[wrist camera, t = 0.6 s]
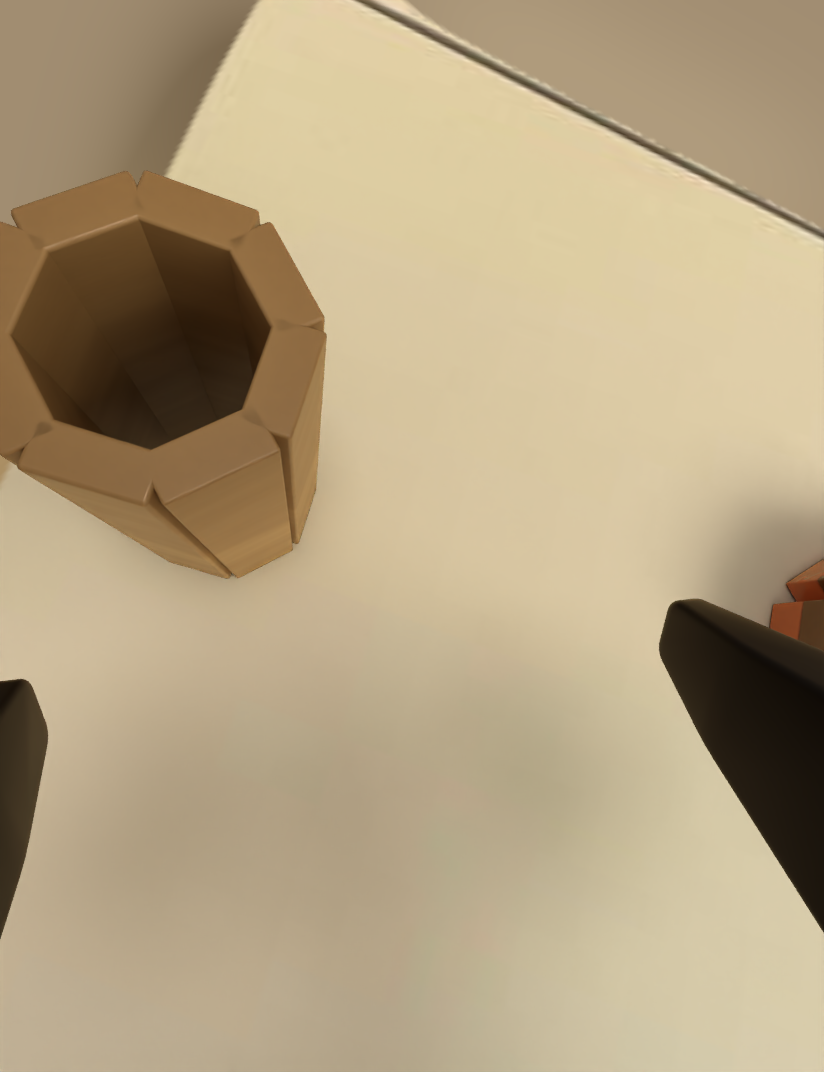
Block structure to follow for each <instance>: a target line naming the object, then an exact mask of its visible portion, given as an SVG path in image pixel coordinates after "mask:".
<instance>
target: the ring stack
mask: <svg viewBox="0 0 824 1072" xmlns="http://www.w3.org/2000/svg"><path fill="white" fill-rule="evenodd" d="M786 585H787V587H788V588H789V590H790V592H791V593H792V595H793V597H794V598H795V600H796V602H791V603H779V604H774V605H773V610H772V616H771V623H770V628H771V629H773V630H775V631H778V632H780V633H782V634H785V635H787V636H790V637H792V638H794V639H797V640H799V641H801V642H804V643H806V644H809V645H811V646H813V647H816V648H818V649H820V650H823V651H824V559H823V560H821V561H820V562H818V563H817V564H815V565H814V566H812V567H811V568H809V569H807V570H806V571H804V572H803V573H801V574H800V575H798V576H797V577H795V578H794V579H792V580H791V581H789V582H788V583H787V584H786Z"/></svg>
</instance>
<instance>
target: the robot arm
mask: <svg viewBox="0 0 824 1072" xmlns="http://www.w3.org/2000/svg"><path fill="white" fill-rule="evenodd" d="M659 651H660V656H661V659H662V661H663V663H664V665H665V667H666V669H667V671H668V673H669V675H670V677H671V679H672V681H673V683H674V685H675V687H676V689H677V691H678V693H679V695H680V697H681V699H682V701H683V703H684V705H685V707H686V709H687V711H688V713H689V715H690V717H691V719H692V721H693V723H694V725H695V727H696V729H697V731H698V733H699V735H700V737H701V738H702V740H703V742H704V744H705V746H706V747H707V749H708V751H709V752H710V754H711V756H712V757H713V759H714V761H715V762H716V764H717V765H718V767H719V769H720V770H721V772H722V773H723V775H724V776H725V778H726V780H727V781H728V783H729V784H730V786H731V787H732V789H733V791H734V792H735V794H736V795H737V797H738V798H739V800H740V802H741V803H742V805H743V806H744V808H745V809H746V811H747V813H748V814H749V816H750V817H751V819H752V821H753V822H754V824H755V825H756V827H757V828H758V830H759V832H760V833H761V835H762V836H763V838H764V839H765V841H766V843H767V844H768V846H769V847H770V849H771V850H772V852H773V854H774V855H775V857H776V858H777V860H778V861H779V863H780V865H781V866H782V868H783V869H784V871H785V873H786V874H787V876H788V877H789V879H790V880H791V882H792V884H793V885H794V887H795V888H796V890H797V891H798V893H799V895H800V896H801V898H802V899H803V901H804V902H805V904H806V906H807V907H808V909H809V910H810V912H811V913H812V915H813V917H814V918H815V920H816V921H817V923H818V924H819V926H820V928H821V929H822V931H823V932H824V651H823V650H820V649H818V648H816V647H813V646H811V645H809V644H806V643H804V642H801V641H799V640H797V639H794V638H792V637H790V636H787V635H785V634H782V633H780V632H778V631H775V630H773V629H771V628H768V627H766V626H763V625H761V624H759V623H756V622H754V621H752V620H749V619H747V618H744V617H742V616H740V615H737V614H735V613H733V612H730V611H728V610H726V609H723V608H721V607H718V606H716V605H714V604H711V603H709V602H707V601H704V600H702V599H687V600H678V601H675V602H673V603H672V604H671V605H670V606H669V608H668V611H667V615H666V619H665V623H664V627H663V631H662V634H661V638H660V643H659ZM47 744H48V730H47V725H46V722H45V719H44V717H43V714H42V711H41V709H40V706H39V703H38V701H37V698H36V695H35V693H34V690H33V688H32V686H31V684H30V683H29V682H28V681H26V680H24V679H16V680H8V681H0V938H1V935H2V932H3V929H4V926H5V923H6V919H7V916H8V913H9V910H10V907H11V903H12V900H13V897H14V894H15V891H16V888H17V884H18V881H19V878H20V874H21V871H22V867H23V864H24V860H25V857H26V852H27V847H28V843H29V838H30V833H31V828H32V823H33V817H34V812H35V807H36V802H37V796H38V791H39V786H40V781H41V775H42V770H43V765H44V760H45V755H46V749H47Z"/></svg>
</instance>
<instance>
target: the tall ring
mask: <svg viewBox="0 0 824 1072" xmlns="http://www.w3.org/2000/svg"><path fill="white" fill-rule="evenodd" d="M11 214H12V217H13V220H14V221H15V223H16V225H17V227H14V226H12V225H9V224H6V223H3V222H0V455H1V456H2V457H4V458H5V459H7V460H9V461H10V462H12V463H13V464H15V465H17V467H18V469H20V470H21V471H22V472H24V473H25V474H27V475H29V476H30V477H32V478H34V479H35V480H37V481H39V482H40V483H42V484H43V485H45V486H47V487H48V488H50V489H52V490H53V491H55V492H56V493H58V494H60V495H61V496H63V497H65V498H66V499H68V500H70V501H71V502H73V503H74V504H76V505H78V506H79V507H81V508H83V509H84V510H86V511H87V512H89V513H91V514H92V515H94V516H96V517H97V518H99V519H101V520H102V521H104V522H105V523H107V524H109V525H110V526H112V527H114V528H115V529H117V530H118V531H120V532H122V533H123V534H125V535H127V536H128V537H130V538H132V539H133V540H135V541H136V542H138V543H140V544H141V545H143V546H145V547H146V548H148V549H150V550H151V551H153V552H154V553H156V554H158V555H159V556H161V557H163V558H164V559H166V560H167V561H169V562H171V563H175V564H178V565H182V566H185V567H189V568H192V569H195V570H199V571H202V572H206V573H209V574H213V575H216V576H219V577H223V578H226V579H228V578H230V576H231V573H233V574H234V575H235V576H236V577H237V578H240V577H242V576H244V575H246V574H247V573H249V572H251V571H253V570H255V569H257V568H259V567H261V566H263V565H265V564H267V563H269V562H271V561H273V560H275V559H277V558H279V557H281V556H283V555H285V554H287V553H288V552H290V551H292V550H293V547H292V543H295V544H298V543H299V540H300V537H301V534H302V531H303V528H304V525H305V522H306V519H307V516H308V513H309V510H310V506H311V503H312V500H313V497H314V494H315V491H316V480H317V466H318V452H319V438H320V424H321V410H322V396H323V381H324V367H325V353H326V339H327V336H326V333H325V332H324V315H323V314H322V312H321V310H320V308H319V306H318V305H317V303H316V301H315V299H314V297H313V296H312V294H311V292H310V290H309V289H308V287H307V285H306V283H305V281H304V280H303V278H302V276H301V274H300V272H299V271H298V269H297V267H296V265H295V263H294V262H293V260H292V258H291V256H290V254H289V253H288V251H287V249H286V247H285V245H284V244H283V242H282V240H281V238H280V236H279V235H278V233H277V231H276V229H275V227H274V226H273V224H272V223H270V222H267V223H265V224H262V225H260V218H259V212H258V211H257V210H255V209H252V208H249V207H247V206H244V205H241V204H238V203H235V202H233V201H230V200H227V199H224V198H222V197H219V196H216V195H213V194H210V193H208V192H205V191H202V190H199V189H197V188H194V187H191V186H188V185H185V184H183V183H180V182H177V181H174V180H172V179H169V178H166V177H163V176H160V175H157V174H155V173H152V172H149V171H144V172H143V174H142V176H141V178H140V181H139V183H138V185H137V184H136V182H135V180H134V179H133V177H132V175H131V174H130V173H129V172H128V171H123V172H120V173H117V174H114V175H111V176H108V177H105V178H102V179H99V180H97V181H93V182H90V183H88V184H85V185H82V186H79V187H76V188H73V189H70V190H67V191H64V192H61V193H58V194H55V195H52V196H49V197H46V198H43V199H40V200H37V201H34V202H32V203H28V204H26V205H22V206H20V207H17V208H14V209H12V210H11Z"/></svg>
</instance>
